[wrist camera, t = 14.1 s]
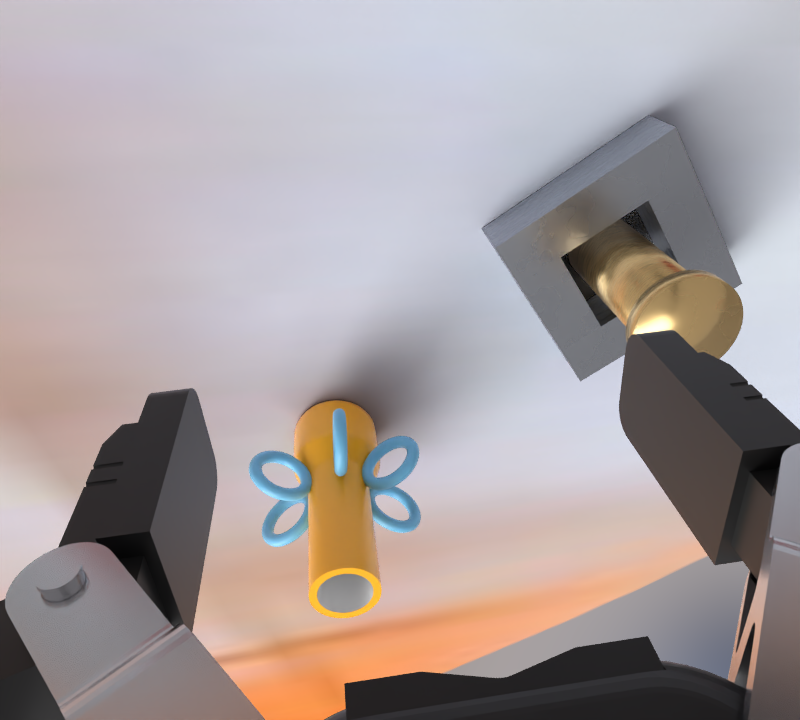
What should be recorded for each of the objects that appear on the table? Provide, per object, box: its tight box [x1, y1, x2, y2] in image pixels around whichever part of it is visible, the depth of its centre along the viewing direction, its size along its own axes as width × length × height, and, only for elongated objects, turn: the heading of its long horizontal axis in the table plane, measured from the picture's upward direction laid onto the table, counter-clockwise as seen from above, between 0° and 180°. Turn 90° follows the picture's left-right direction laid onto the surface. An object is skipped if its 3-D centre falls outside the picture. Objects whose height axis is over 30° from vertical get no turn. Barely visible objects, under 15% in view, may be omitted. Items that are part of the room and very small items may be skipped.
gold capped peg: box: [568, 219, 743, 359], centre depth 39 cm, size 6×6×12 cm
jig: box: [482, 115, 742, 381], centre depth 43 cm, size 12×12×4 cm
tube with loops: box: [249, 400, 421, 618], centre depth 43 cm, size 12×10×15 cm
